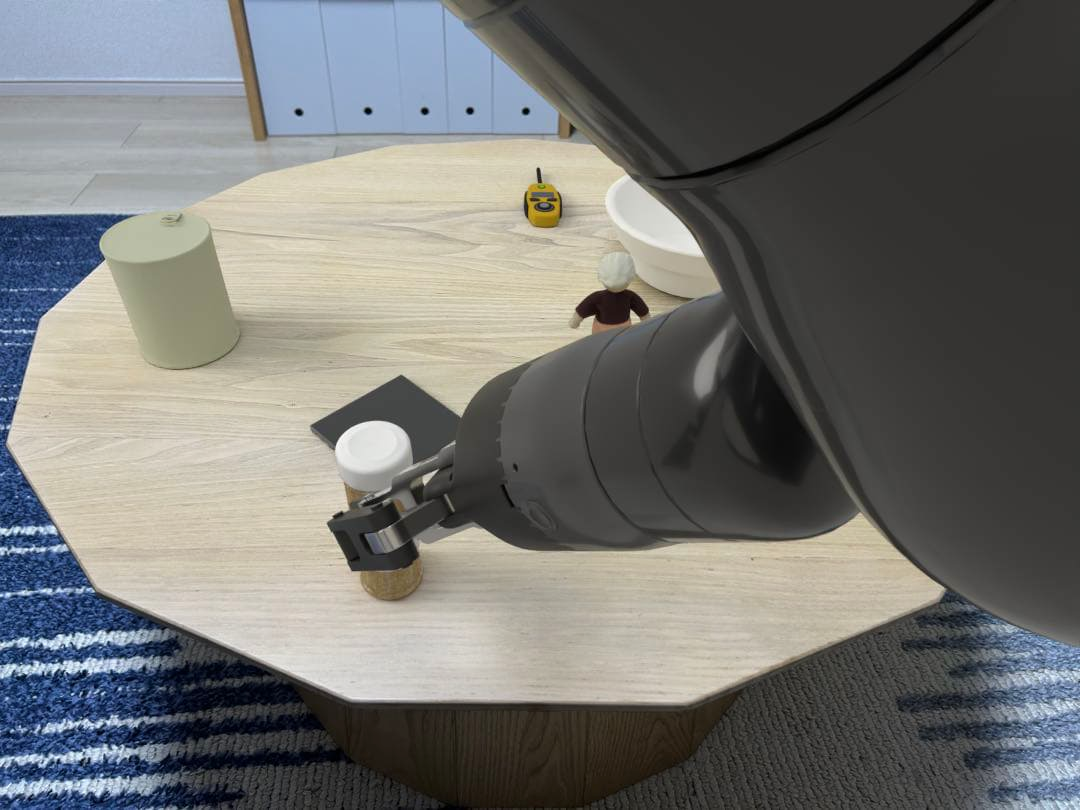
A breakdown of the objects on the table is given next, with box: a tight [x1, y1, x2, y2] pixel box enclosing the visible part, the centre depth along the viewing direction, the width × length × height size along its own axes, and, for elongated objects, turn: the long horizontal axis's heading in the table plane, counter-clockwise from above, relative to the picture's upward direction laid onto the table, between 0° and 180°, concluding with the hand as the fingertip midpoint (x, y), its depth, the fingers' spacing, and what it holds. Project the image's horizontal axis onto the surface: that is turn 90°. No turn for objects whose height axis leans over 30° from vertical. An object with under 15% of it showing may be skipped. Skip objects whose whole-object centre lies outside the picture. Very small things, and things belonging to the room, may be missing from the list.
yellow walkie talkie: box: [523, 167, 563, 228], centre depth 99 cm, size 5×2×15 cm
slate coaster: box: [309, 374, 462, 465], centre depth 66 cm, size 10×10×1 cm
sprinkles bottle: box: [334, 421, 424, 601], centre depth 51 cm, size 5×5×13 cm
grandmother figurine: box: [568, 250, 652, 334], centre depth 70 cm, size 8×4×13 cm, turn 106°
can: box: [98, 210, 241, 370], centre depth 71 cm, size 9×9×12 cm
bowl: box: [604, 173, 721, 300], centre depth 85 cm, size 21×21×8 cm
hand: (431, 480), depth 41 cm, fingers open, 8 cm apart
